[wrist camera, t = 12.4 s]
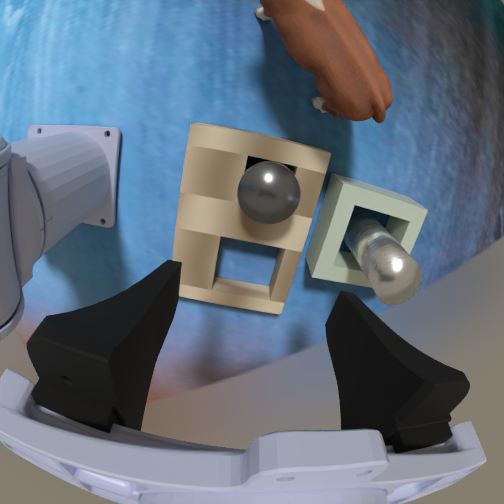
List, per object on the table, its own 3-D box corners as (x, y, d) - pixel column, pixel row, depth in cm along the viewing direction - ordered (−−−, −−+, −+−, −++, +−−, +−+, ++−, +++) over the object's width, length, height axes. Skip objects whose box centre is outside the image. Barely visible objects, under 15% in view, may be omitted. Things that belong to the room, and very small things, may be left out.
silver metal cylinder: (334, 239, 22) (367, 300, 15) (348, 205, 21) (390, 254, 14) (366, 248, 23) (406, 308, 16) (380, 215, 21) (430, 266, 14)
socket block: (175, 280, 24) (169, 294, 22) (196, 122, 18) (190, 123, 17) (278, 299, 25) (280, 314, 23) (324, 149, 19) (331, 153, 17)
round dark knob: (235, 197, 21) (231, 217, 17) (246, 148, 19) (244, 157, 15) (284, 207, 21) (291, 229, 17) (297, 159, 19) (307, 171, 16)
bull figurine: (284, -40, 12) (299, -99, 5) (366, 112, 18) (426, 118, 10) (228, -22, 13) (215, -81, 6) (311, 132, 19) (347, 146, 11)
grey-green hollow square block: (305, 257, 23) (311, 277, 20) (331, 172, 20) (343, 182, 17) (379, 271, 24) (392, 291, 21) (409, 197, 21) (427, 210, 18)
